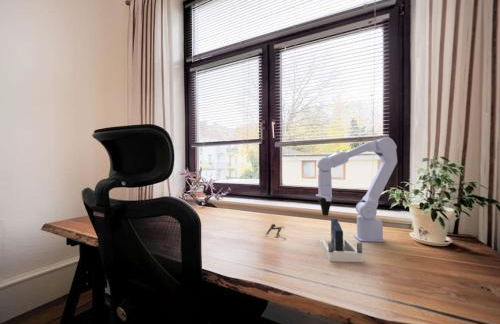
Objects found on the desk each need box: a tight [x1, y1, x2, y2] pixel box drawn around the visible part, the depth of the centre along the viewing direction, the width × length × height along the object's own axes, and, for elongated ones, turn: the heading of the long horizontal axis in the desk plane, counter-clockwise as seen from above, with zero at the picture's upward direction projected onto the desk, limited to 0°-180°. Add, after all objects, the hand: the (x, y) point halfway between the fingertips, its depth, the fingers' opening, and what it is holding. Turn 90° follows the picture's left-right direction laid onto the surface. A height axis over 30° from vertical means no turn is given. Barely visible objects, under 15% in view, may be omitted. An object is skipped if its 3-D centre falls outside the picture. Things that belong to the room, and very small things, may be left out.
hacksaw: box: [265, 223, 287, 241], centre depth 111 cm, size 24×10×2 cm, turn 164°
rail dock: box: [320, 239, 363, 263], centre depth 83 cm, size 11×15×6 cm
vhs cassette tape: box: [330, 218, 344, 251], centre depth 86 cm, size 18×3×10 cm, turn 164°
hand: (325, 215), depth 103 cm, fingers closed
